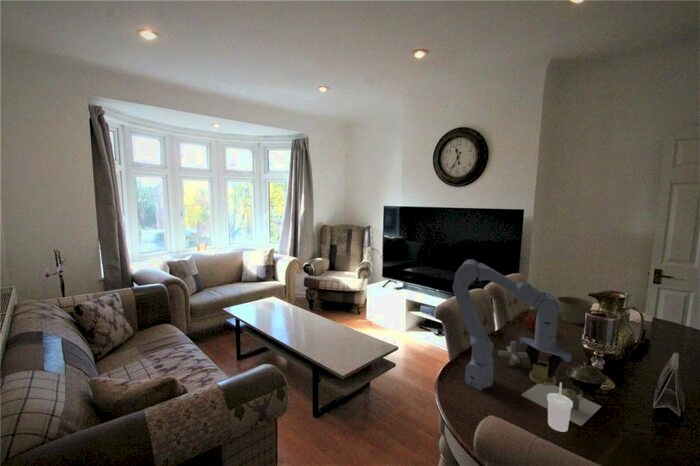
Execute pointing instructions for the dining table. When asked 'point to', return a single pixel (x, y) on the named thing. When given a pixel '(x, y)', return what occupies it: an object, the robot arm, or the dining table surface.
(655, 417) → the dining table surface
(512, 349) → the pipe connector
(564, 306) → the planter bowl
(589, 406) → the plate
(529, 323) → the dragon fruit
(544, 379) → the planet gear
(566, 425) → the beverage cup
